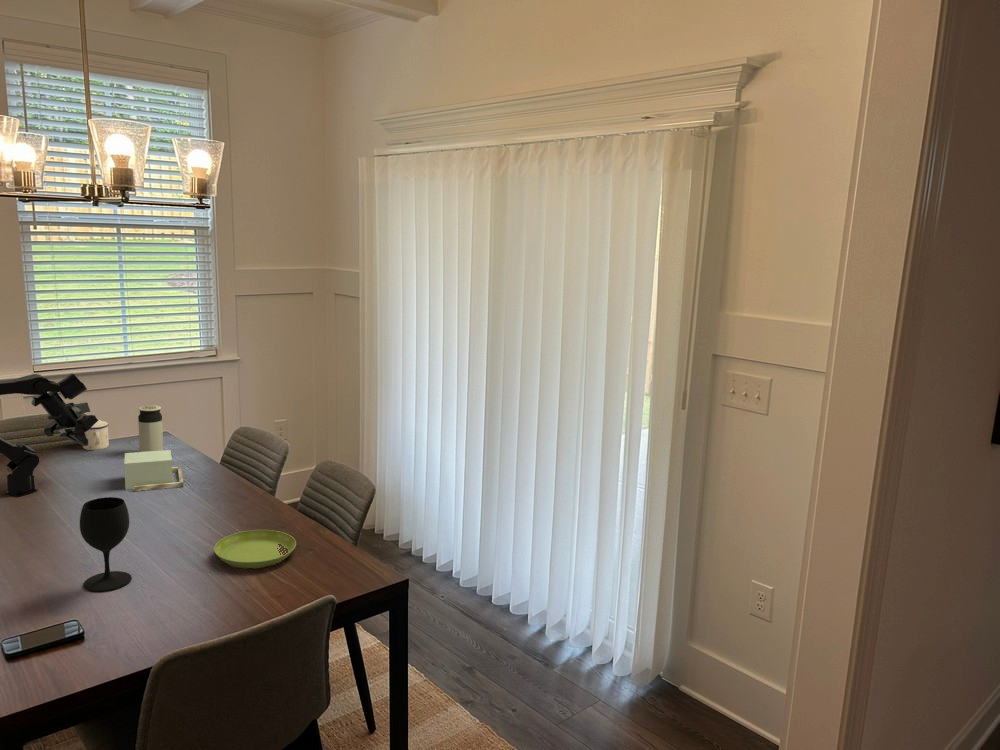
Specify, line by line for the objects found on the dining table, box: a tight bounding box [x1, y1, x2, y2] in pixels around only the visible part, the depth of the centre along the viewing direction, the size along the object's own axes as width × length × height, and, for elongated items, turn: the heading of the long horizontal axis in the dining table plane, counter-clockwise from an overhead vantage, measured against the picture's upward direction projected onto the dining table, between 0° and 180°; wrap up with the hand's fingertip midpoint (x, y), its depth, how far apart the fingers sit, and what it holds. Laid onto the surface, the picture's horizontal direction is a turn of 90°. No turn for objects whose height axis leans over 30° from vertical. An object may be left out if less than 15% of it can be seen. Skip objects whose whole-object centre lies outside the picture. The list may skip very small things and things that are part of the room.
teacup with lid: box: [82, 416, 110, 451], centre depth 278 cm, size 12×9×12 cm
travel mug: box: [137, 404, 164, 452], centre depth 273 cm, size 8×8×18 cm
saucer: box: [213, 529, 297, 569], centre depth 196 cm, size 21×21×3 cm
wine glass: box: [79, 496, 133, 593], centre depth 175 cm, size 10×10×20 cm
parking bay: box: [133, 465, 184, 492], centre depth 248 cm, size 14×18×2 cm
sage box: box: [123, 449, 174, 490], centre depth 245 cm, size 14×12×9 cm
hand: (86, 445), depth 242 cm, fingers closed
